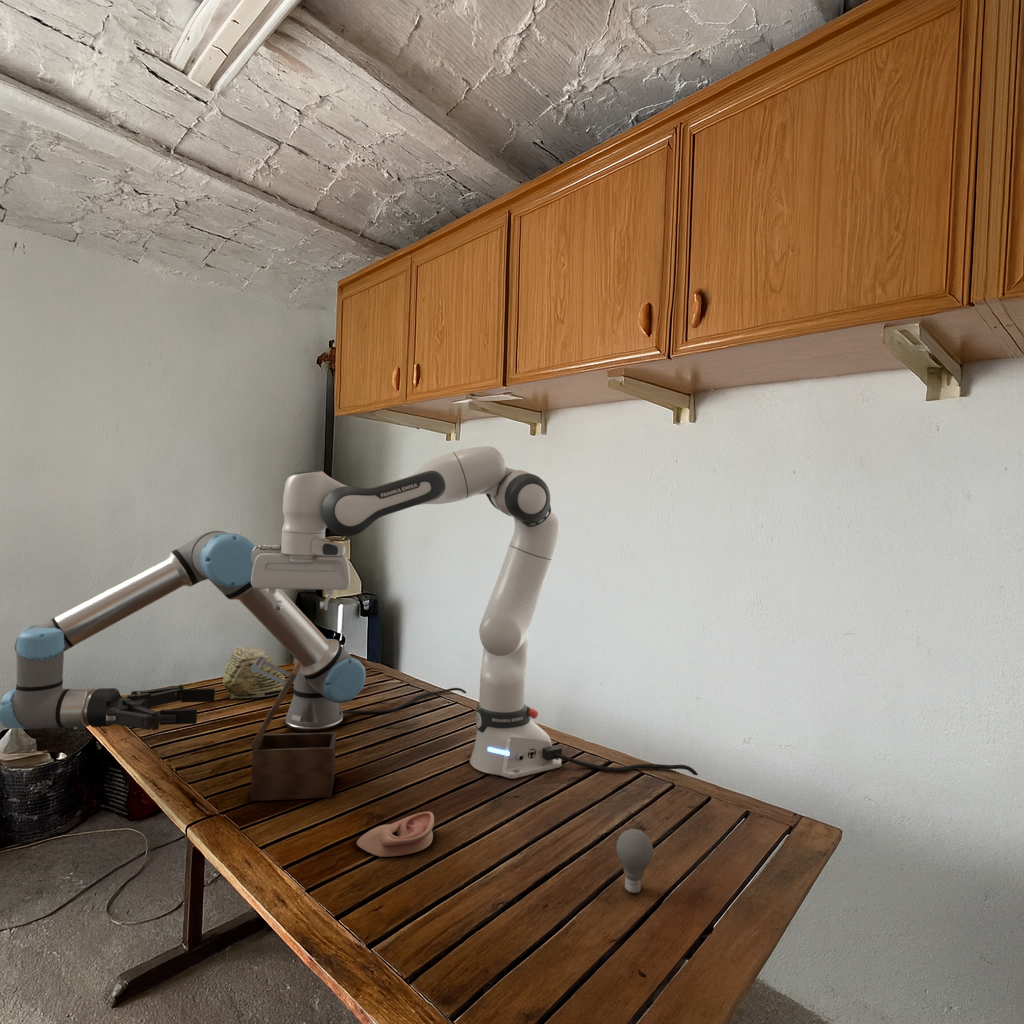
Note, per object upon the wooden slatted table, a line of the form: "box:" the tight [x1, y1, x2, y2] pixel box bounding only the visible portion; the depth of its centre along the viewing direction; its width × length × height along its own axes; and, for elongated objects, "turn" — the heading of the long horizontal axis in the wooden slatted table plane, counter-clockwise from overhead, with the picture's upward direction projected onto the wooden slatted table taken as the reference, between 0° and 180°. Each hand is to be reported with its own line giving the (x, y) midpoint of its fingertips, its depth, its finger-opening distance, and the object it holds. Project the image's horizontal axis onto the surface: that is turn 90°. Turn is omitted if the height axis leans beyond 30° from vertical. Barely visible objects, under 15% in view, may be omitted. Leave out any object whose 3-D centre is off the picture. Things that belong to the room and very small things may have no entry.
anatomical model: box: [356, 811, 435, 858], centre depth 118 cm, size 13×4×12 cm
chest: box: [250, 731, 337, 802], centre depth 137 cm, size 16×9×10 cm, turn 102°
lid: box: [250, 656, 302, 749], centre depth 135 cm, size 17×9×9 cm
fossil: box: [222, 646, 287, 699], centre depth 198 cm, size 9×18×15 cm, turn 132°
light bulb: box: [615, 828, 654, 894], centre depth 106 cm, size 6×6×10 cm
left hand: (205, 705), depth 133 cm, fingers open, 13 cm apart
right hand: (300, 609), depth 136 cm, fingers open, 8 cm apart
